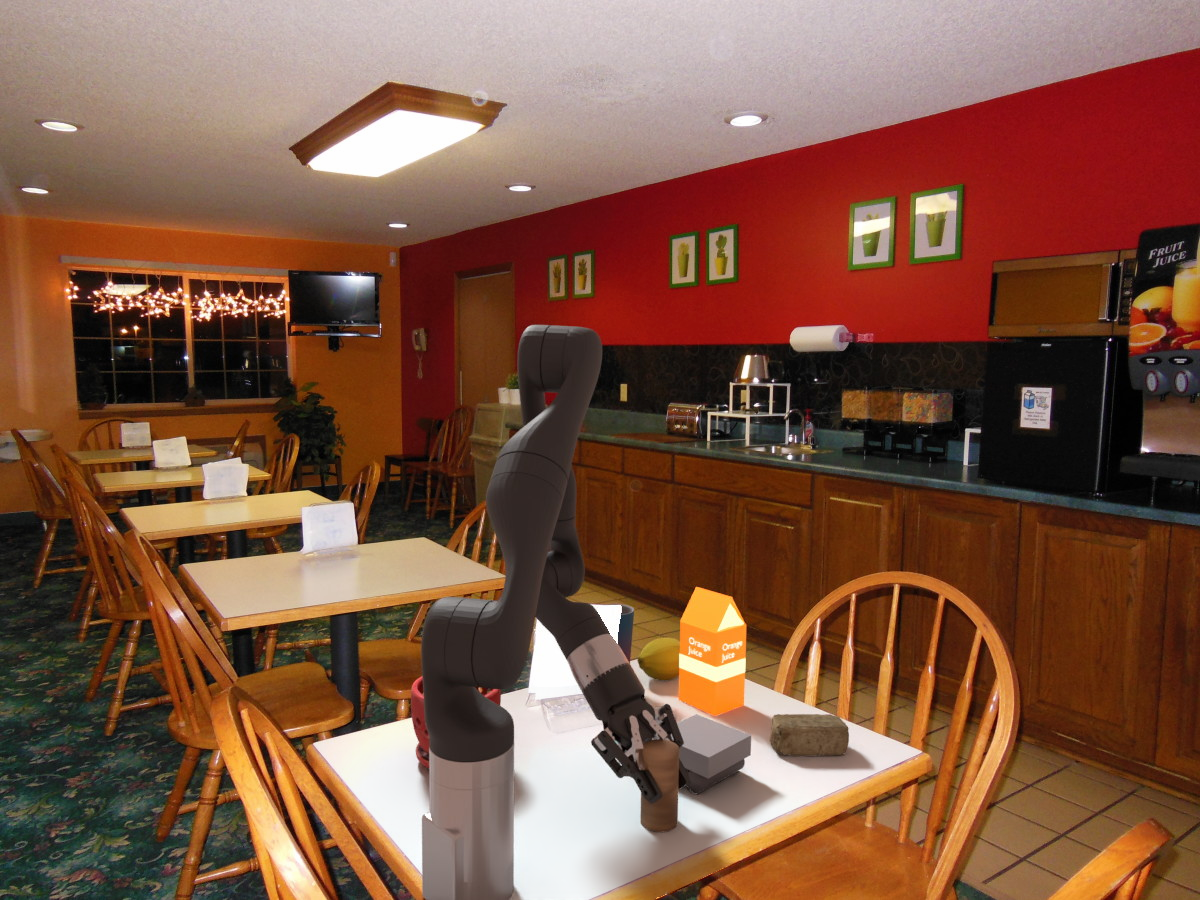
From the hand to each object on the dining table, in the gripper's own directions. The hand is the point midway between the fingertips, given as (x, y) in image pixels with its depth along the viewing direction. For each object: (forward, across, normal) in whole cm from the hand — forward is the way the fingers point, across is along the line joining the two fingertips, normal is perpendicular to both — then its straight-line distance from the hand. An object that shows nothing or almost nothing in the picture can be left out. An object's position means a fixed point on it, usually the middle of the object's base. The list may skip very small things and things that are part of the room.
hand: (670, 792), depth 105 cm
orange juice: (-11, +36, +18) cm, 42 cm away
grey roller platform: (-1, +14, +7) cm, 16 cm away
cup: (-23, +28, +30) cm, 47 cm away
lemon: (-20, +38, +27) cm, 51 cm away
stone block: (+4, +32, +3) cm, 33 cm away
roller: (+2, 0, +5) cm, 5 cm away
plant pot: (-20, -9, +27) cm, 35 cm away
